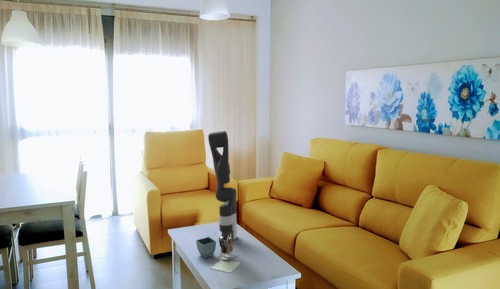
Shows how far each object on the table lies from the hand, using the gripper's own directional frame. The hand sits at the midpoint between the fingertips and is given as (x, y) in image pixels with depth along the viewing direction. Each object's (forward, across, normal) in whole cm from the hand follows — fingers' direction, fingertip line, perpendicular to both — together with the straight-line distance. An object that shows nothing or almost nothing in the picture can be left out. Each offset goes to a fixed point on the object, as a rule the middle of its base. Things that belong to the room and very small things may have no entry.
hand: (226, 250), depth 215 cm
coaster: (+4, +10, +4) cm, 11 cm away
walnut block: (0, 0, 0) cm, 0 cm away
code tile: (+4, +1, 0) cm, 4 cm away
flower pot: (+4, +2, -12) cm, 13 cm away
